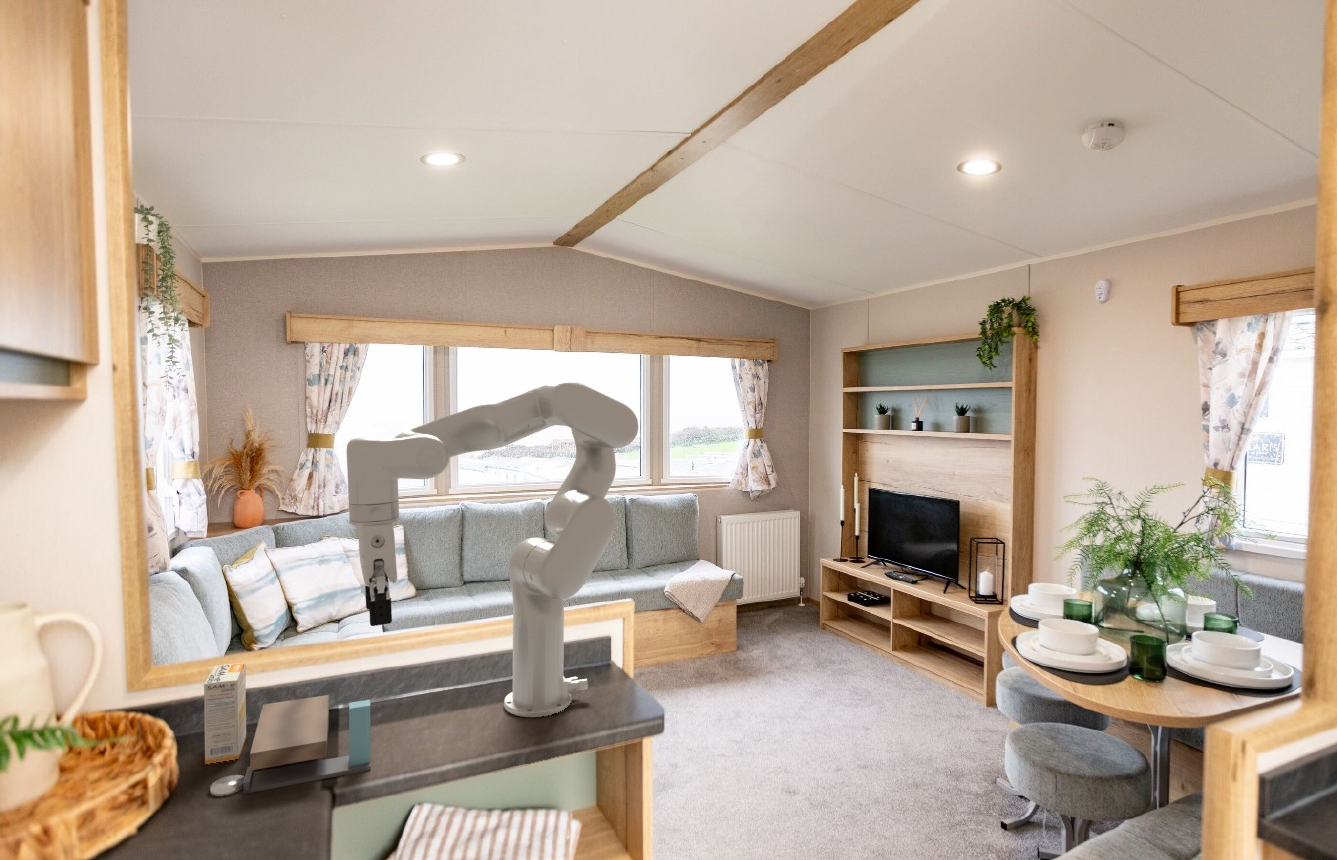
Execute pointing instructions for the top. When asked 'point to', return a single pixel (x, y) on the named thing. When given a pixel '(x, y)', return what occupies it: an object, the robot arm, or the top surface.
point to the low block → (291, 732)
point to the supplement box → (225, 712)
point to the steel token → (227, 785)
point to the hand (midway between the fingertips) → (378, 615)
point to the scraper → (323, 768)
